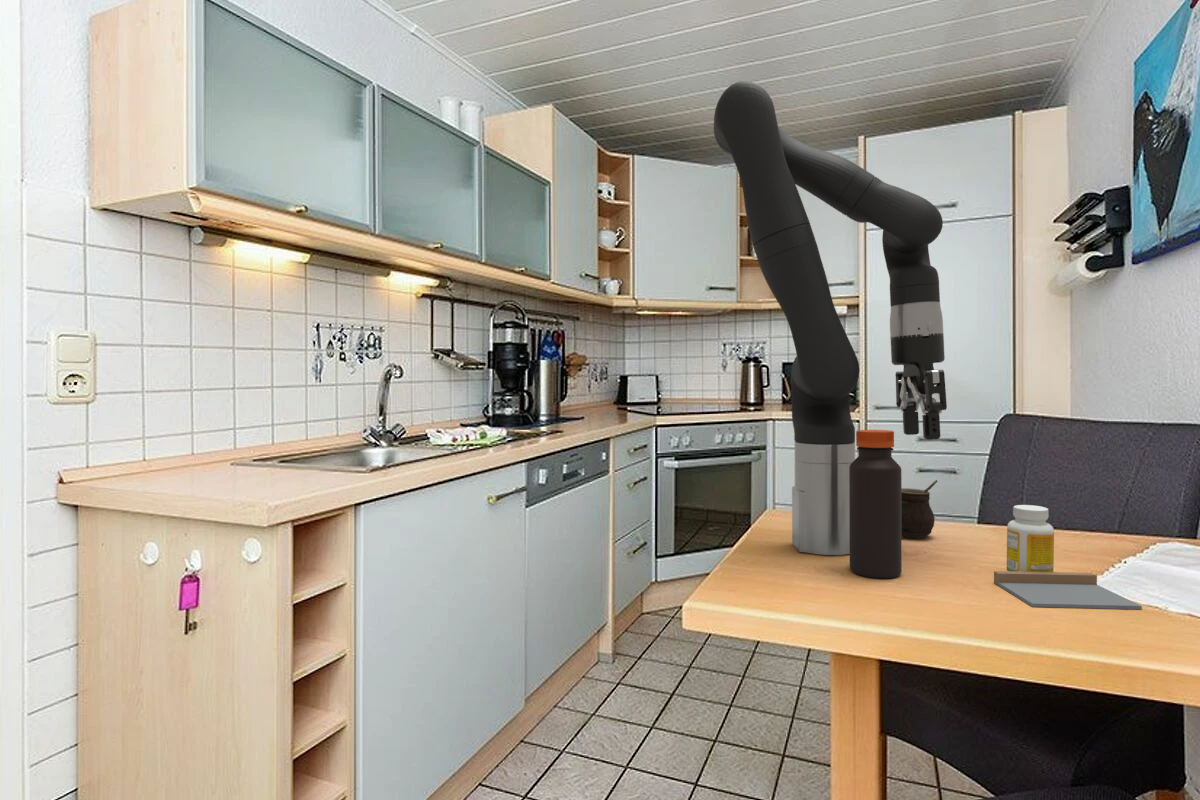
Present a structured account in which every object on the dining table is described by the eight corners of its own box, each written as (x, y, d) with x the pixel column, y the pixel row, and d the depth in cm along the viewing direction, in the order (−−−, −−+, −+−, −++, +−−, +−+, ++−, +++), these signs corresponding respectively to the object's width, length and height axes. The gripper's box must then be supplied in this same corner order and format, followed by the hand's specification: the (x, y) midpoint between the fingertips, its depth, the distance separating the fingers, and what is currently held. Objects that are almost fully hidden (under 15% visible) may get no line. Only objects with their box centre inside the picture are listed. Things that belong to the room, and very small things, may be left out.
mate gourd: (883, 531, 119) (883, 475, 119) (927, 532, 118) (928, 476, 118) (895, 540, 112) (896, 481, 111) (942, 542, 111) (943, 482, 110)
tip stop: (1032, 606, 78) (1032, 593, 78) (993, 582, 88) (993, 570, 88) (1141, 609, 77) (1141, 595, 77) (1091, 584, 86) (1091, 572, 86)
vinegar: (861, 563, 98) (861, 428, 98) (909, 572, 93) (909, 430, 93) (841, 572, 93) (840, 431, 93) (889, 582, 88) (889, 433, 88)
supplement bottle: (1000, 576, 90) (1000, 507, 90) (1015, 569, 94) (1015, 502, 94) (1045, 586, 86) (1046, 512, 86) (1059, 577, 90) (1059, 507, 89)
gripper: (877, 338, 111) (882, 434, 111) (907, 331, 97) (913, 442, 97) (924, 335, 110) (928, 432, 111) (961, 328, 96) (966, 439, 96)
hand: (921, 436), depth 104 cm, fingers open, 8 cm apart
